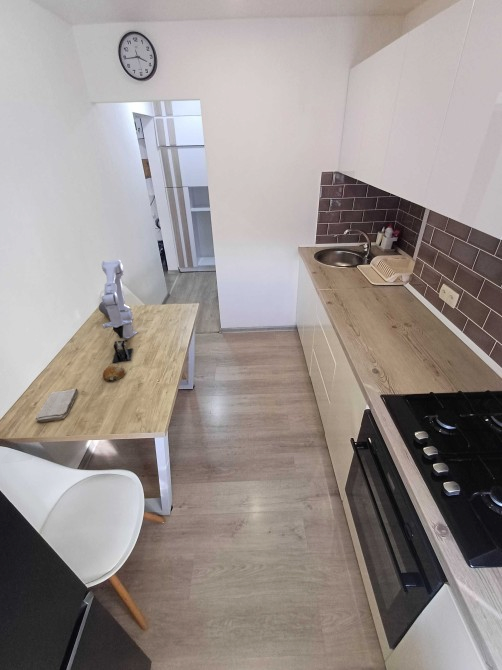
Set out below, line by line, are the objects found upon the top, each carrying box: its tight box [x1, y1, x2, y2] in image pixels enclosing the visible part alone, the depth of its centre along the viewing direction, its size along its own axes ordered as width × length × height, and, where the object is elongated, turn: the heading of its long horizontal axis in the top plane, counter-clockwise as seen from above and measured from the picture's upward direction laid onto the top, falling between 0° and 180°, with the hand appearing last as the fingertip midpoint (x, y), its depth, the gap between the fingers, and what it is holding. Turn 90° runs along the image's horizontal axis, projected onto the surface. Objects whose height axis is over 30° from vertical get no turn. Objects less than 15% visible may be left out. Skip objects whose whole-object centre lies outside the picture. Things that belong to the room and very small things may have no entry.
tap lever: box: [117, 339, 129, 350], centre depth 170 cm, size 10×5×2 cm, turn 12°
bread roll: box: [102, 363, 126, 383], centre depth 155 cm, size 10×10×8 cm
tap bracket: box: [112, 339, 134, 364], centre depth 168 cm, size 11×9×9 cm
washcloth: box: [35, 388, 79, 423], centre depth 139 cm, size 12×18×3 cm, turn 9°
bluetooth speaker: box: [98, 301, 126, 319], centre depth 205 cm, size 23×9×10 cm, turn 49°
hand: (121, 337), depth 173 cm, fingers closed
